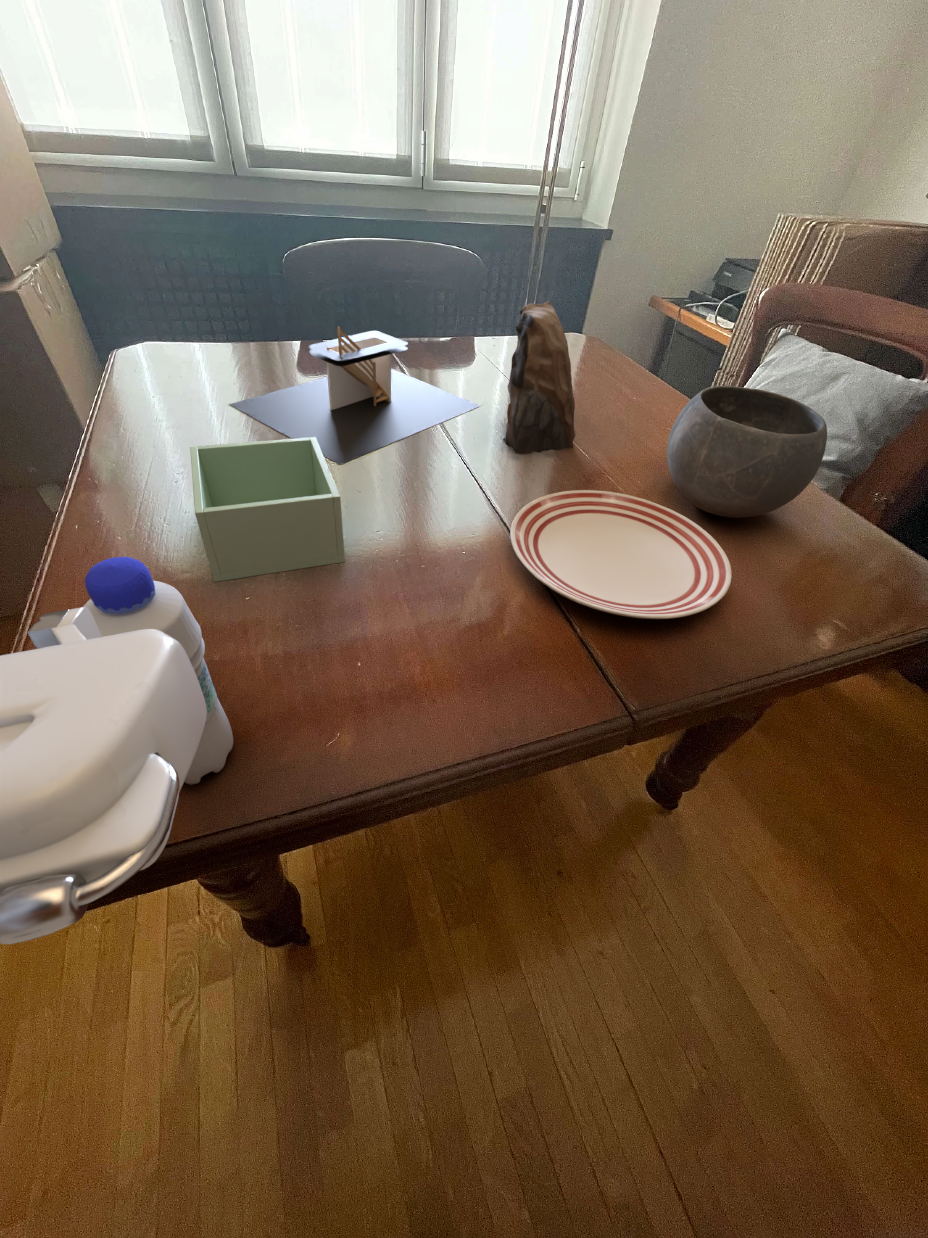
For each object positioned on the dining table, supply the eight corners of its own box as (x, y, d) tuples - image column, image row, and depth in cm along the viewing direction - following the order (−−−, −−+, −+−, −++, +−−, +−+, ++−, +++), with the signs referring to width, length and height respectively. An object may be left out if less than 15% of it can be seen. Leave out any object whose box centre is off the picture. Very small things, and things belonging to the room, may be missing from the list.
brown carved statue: (512, 457, 89) (534, 323, 75) (478, 424, 97) (492, 298, 83) (576, 448, 94) (607, 320, 80) (538, 417, 102) (560, 296, 88)
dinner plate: (475, 517, 75) (478, 496, 73) (640, 496, 84) (647, 476, 81) (571, 660, 57) (578, 638, 55) (768, 614, 66) (782, 593, 63)
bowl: (774, 486, 90) (823, 395, 80) (795, 555, 76) (859, 455, 65) (651, 460, 93) (684, 369, 83) (648, 522, 78) (687, 421, 68)
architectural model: (339, 464, 82) (332, 366, 72) (229, 404, 94) (210, 312, 84) (481, 405, 103) (490, 323, 94) (376, 362, 115) (375, 285, 105)
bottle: (155, 732, 46) (56, 539, 33) (239, 717, 48) (179, 528, 35) (148, 803, 42) (30, 613, 28) (240, 783, 44) (172, 597, 30)
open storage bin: (214, 582, 61) (194, 513, 55) (207, 512, 70) (189, 446, 64) (345, 561, 65) (340, 496, 59) (321, 498, 75) (315, 436, 69)
